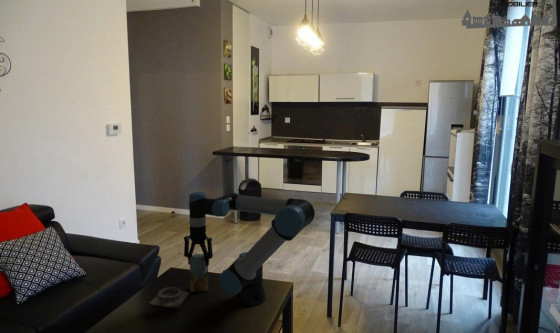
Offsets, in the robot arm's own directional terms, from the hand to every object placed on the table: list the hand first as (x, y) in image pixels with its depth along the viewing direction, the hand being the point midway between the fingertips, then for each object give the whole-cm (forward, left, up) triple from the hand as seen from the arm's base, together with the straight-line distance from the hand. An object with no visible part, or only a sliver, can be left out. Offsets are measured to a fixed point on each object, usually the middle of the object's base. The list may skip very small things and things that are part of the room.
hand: (198, 271), depth 181 cm
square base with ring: (+14, +2, -15) cm, 21 cm away
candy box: (+4, -10, -15) cm, 19 cm away
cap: (0, 0, -2) cm, 2 cm away
